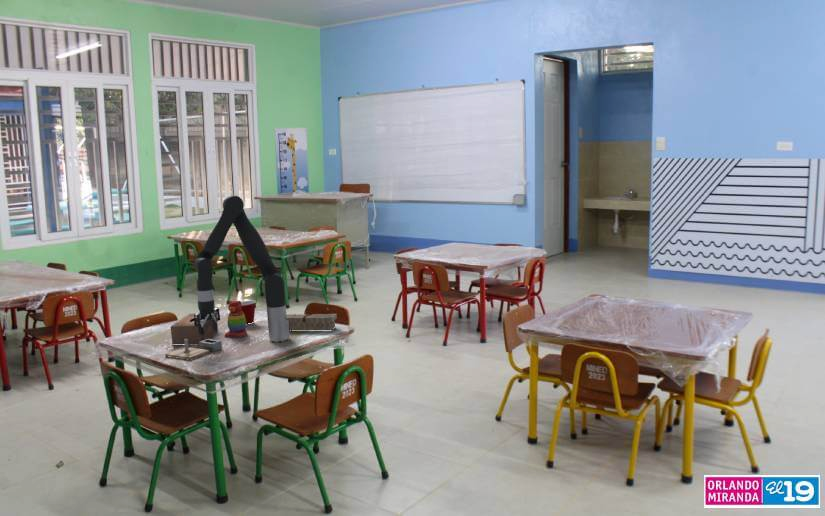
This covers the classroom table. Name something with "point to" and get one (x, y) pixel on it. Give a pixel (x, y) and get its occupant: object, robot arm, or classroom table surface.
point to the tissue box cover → (190, 331)
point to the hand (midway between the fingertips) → (208, 332)
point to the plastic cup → (248, 310)
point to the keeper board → (187, 352)
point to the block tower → (311, 321)
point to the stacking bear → (236, 320)
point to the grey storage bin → (210, 345)
